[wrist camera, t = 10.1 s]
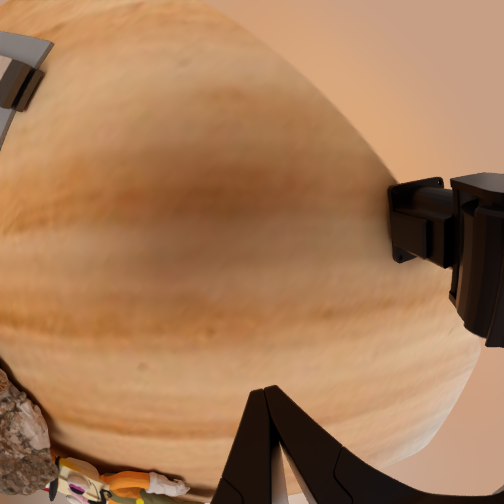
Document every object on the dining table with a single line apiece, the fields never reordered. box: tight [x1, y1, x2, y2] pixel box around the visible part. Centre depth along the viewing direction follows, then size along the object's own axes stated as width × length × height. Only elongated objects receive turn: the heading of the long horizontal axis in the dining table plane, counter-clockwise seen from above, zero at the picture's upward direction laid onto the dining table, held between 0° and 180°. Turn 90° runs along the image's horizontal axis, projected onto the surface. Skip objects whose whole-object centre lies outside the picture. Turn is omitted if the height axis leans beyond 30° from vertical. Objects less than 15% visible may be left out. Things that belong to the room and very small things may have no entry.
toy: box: [41, 451, 204, 504], centre depth 22 cm, size 17×10×30 cm
